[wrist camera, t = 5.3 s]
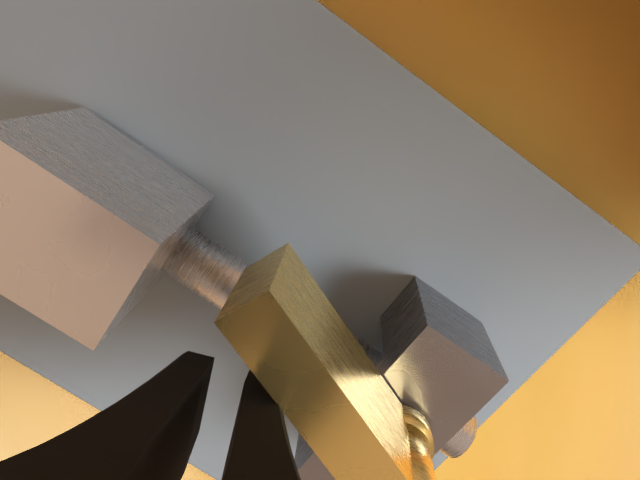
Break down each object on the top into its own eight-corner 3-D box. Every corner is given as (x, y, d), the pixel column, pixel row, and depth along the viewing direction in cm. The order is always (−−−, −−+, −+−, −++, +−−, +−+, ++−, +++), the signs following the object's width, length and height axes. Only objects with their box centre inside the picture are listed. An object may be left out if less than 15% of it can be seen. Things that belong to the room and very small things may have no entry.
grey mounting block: (481, 321, 15) (509, 380, 12) (364, 446, 16) (365, 523, 14) (415, 275, 14) (427, 325, 12) (303, 407, 16) (291, 478, 13)
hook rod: (488, 380, 15) (530, 486, 11) (423, 445, 16) (442, 563, 12) (84, 107, 13) (-25, 124, 10) (38, 198, 14) (-78, 246, 10)
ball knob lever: (381, 474, 13) (386, 566, 11) (233, 275, 11) (200, 329, 9) (445, 446, 13) (465, 535, 10) (300, 235, 11) (283, 281, 9)
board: (635, 243, 15) (653, 256, 14) (346, 532, 19) (345, 556, 18) (6, -233, 12) (-25, -259, 11) (-162, 225, 16) (-194, 235, 15)
